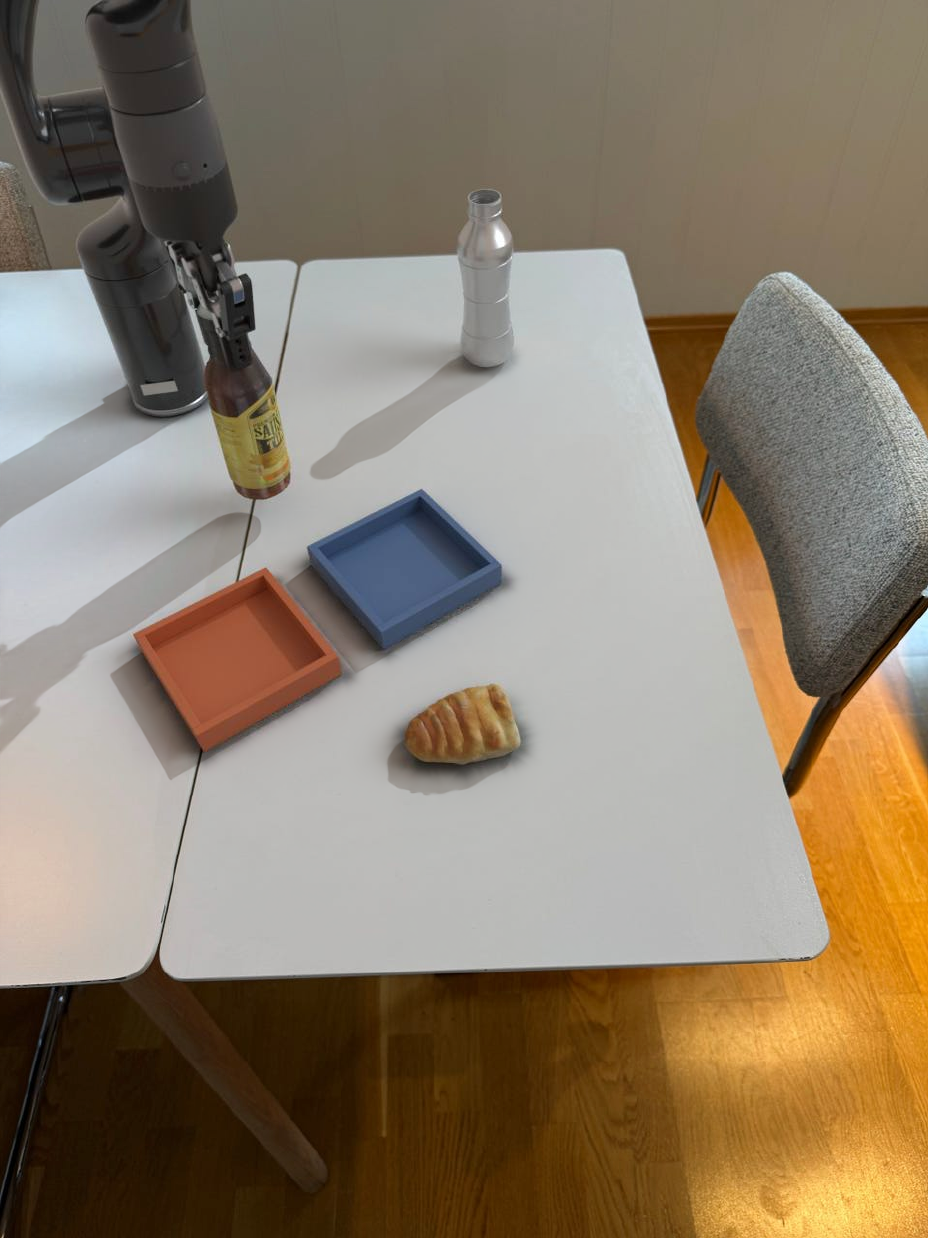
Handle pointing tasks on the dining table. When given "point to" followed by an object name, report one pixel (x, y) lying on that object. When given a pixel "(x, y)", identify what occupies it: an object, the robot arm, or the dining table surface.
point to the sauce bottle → (246, 420)
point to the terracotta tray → (237, 657)
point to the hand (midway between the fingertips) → (228, 354)
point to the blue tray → (404, 567)
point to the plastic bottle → (486, 281)
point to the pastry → (464, 727)
